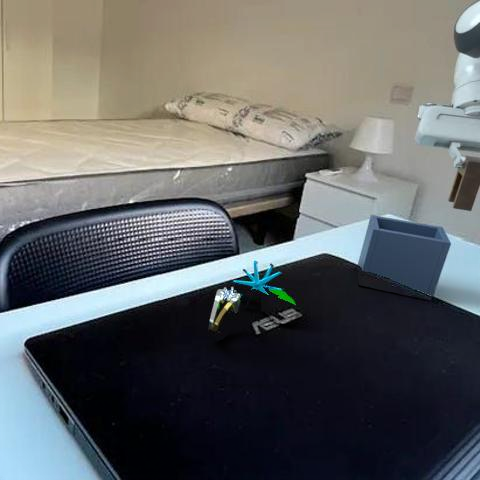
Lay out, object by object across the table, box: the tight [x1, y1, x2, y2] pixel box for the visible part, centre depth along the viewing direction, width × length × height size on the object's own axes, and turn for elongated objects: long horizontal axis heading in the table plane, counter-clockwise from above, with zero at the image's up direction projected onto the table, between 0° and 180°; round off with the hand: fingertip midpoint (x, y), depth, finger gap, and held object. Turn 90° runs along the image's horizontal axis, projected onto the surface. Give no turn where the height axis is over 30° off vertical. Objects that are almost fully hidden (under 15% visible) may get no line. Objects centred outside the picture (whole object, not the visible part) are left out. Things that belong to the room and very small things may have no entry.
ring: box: [208, 286, 242, 332], centre depth 68 cm, size 7×3×8 cm, turn 142°
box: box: [357, 214, 452, 297], centre depth 88 cm, size 12×8×11 cm, turn 72°
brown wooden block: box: [447, 154, 480, 212], centre depth 93 cm, size 3×6×9 cm, turn 161°
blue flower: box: [233, 259, 297, 305], centre depth 79 cm, size 12×7×8 cm
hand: (472, 168), depth 92 cm, fingers closed on brown wooden block, 3 cm apart
